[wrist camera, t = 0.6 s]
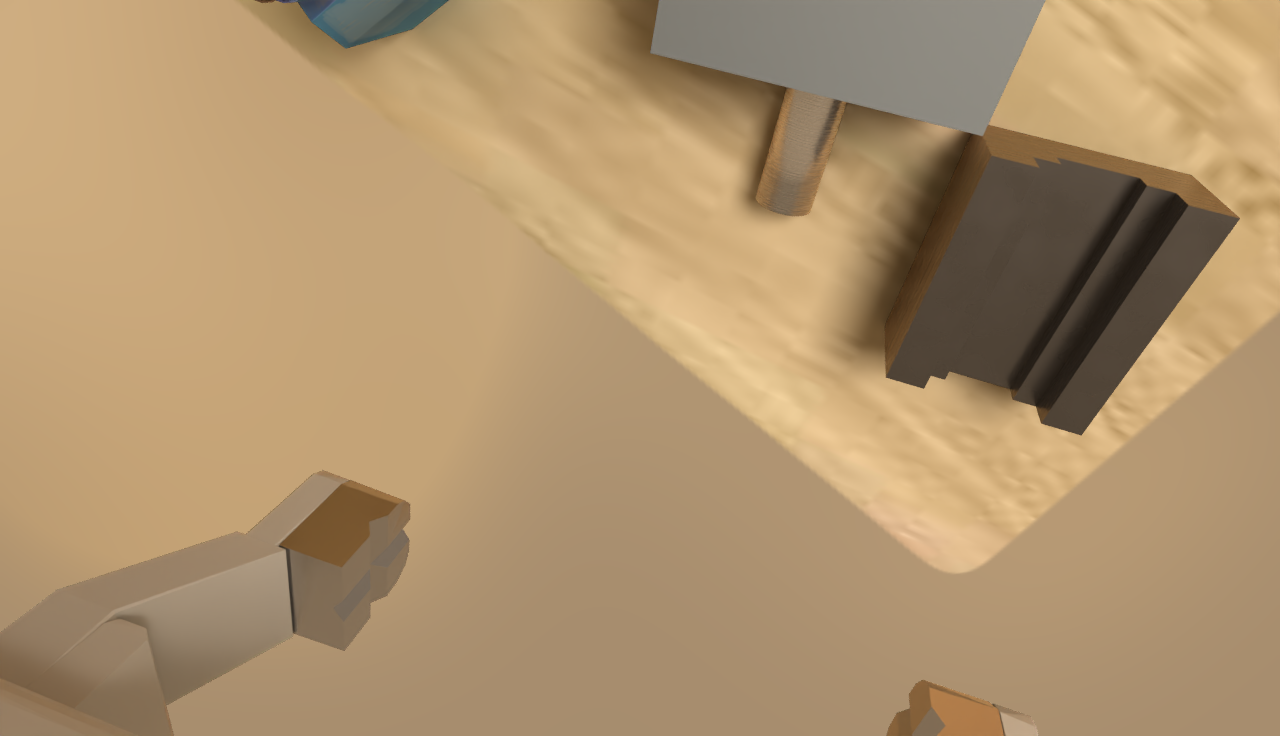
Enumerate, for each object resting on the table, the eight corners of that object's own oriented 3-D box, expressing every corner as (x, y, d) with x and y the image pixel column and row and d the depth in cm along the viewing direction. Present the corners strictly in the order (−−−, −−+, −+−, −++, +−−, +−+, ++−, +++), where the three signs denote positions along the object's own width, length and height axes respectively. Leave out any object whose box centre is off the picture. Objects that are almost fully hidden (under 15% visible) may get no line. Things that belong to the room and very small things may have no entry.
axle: (825, -63, 32) (832, -57, 29) (889, -49, 32) (902, -42, 29) (755, 187, 39) (756, 209, 36) (807, 198, 39) (813, 220, 36)
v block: (976, 122, 34) (991, 155, 30) (1191, 175, 33) (1240, 218, 29) (884, 325, 41) (885, 377, 37) (1058, 375, 40) (1081, 435, 36)
